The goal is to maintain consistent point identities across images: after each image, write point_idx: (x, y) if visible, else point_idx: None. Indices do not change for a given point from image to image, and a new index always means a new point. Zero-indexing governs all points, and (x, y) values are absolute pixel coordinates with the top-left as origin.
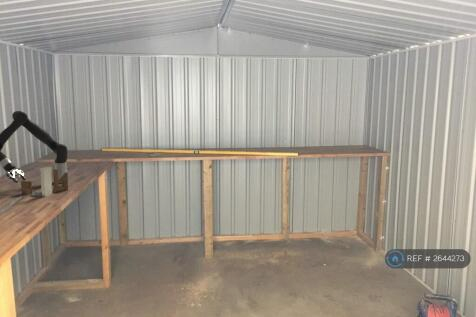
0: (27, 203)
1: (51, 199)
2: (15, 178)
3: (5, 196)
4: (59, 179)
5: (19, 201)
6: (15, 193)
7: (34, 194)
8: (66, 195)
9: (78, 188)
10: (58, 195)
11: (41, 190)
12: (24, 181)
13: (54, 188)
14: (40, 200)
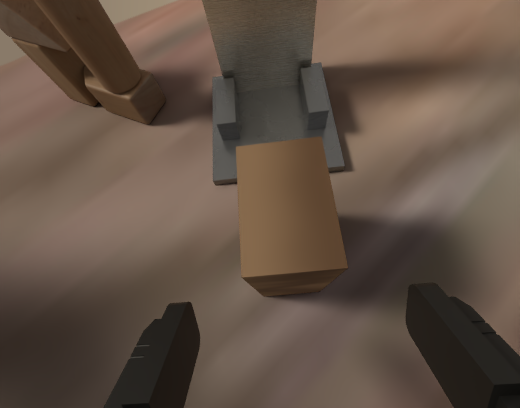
0: (500, 40)
1: (337, 8)
2: (487, 347)
3: None
4: (37, 23)
5: (510, 111)
6: (337, 374)
7: None
8: None
9: None
10: None
11: (236, 123)
12: (331, 193)
13: (150, 84)
14: (392, 33)
